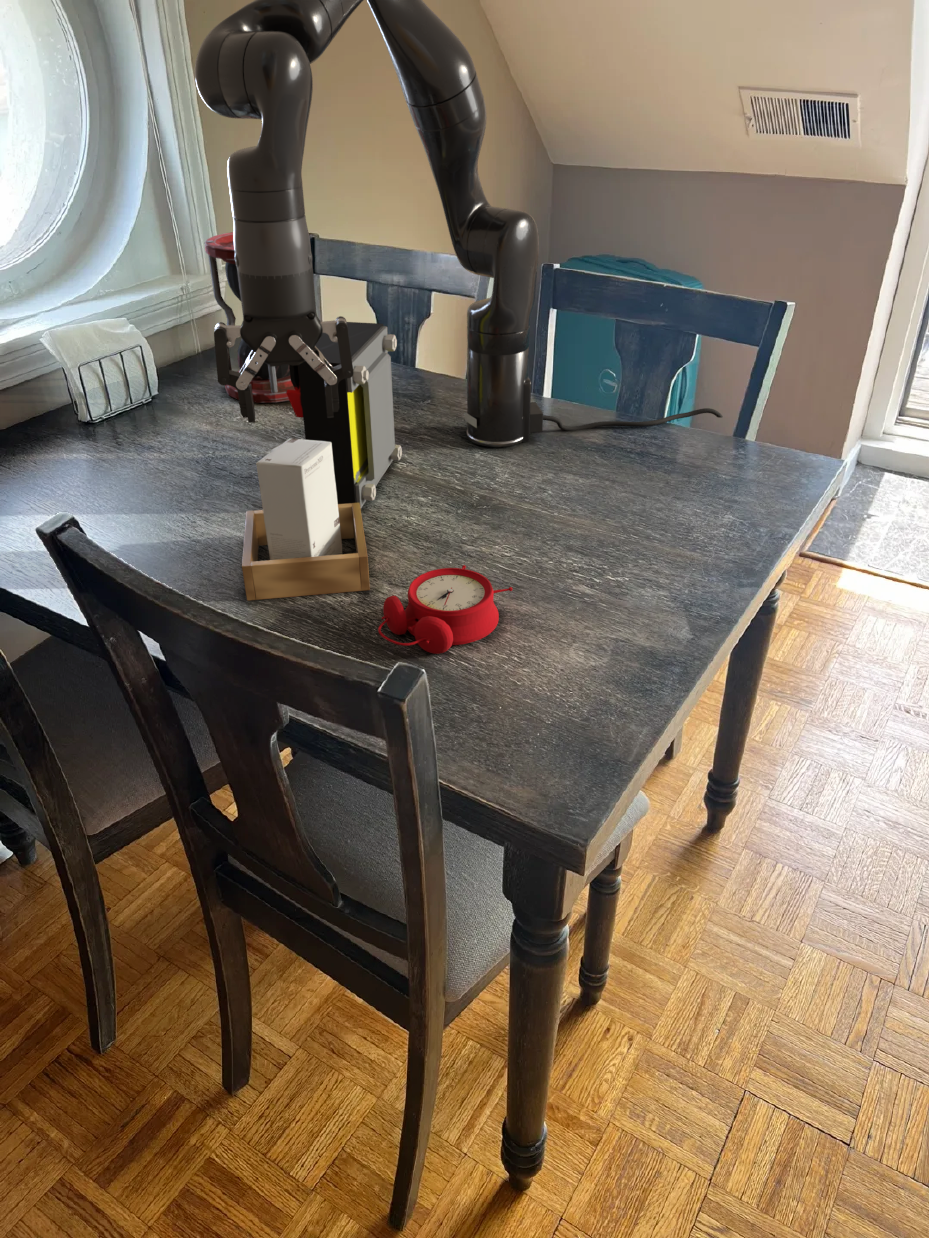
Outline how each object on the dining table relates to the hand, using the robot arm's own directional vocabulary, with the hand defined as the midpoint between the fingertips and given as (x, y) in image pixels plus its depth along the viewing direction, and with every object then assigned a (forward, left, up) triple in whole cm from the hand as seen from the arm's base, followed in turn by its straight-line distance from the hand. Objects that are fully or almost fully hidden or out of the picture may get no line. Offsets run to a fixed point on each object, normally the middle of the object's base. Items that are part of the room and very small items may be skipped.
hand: (291, 417), depth 104 cm
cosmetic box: (0, 0, -19) cm, 19 cm away
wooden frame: (0, 0, -19) cm, 19 cm away
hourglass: (+5, -65, -19) cm, 68 cm away
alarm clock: (-14, +16, -19) cm, 28 cm away
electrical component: (-7, -23, -19) cm, 31 cm away
